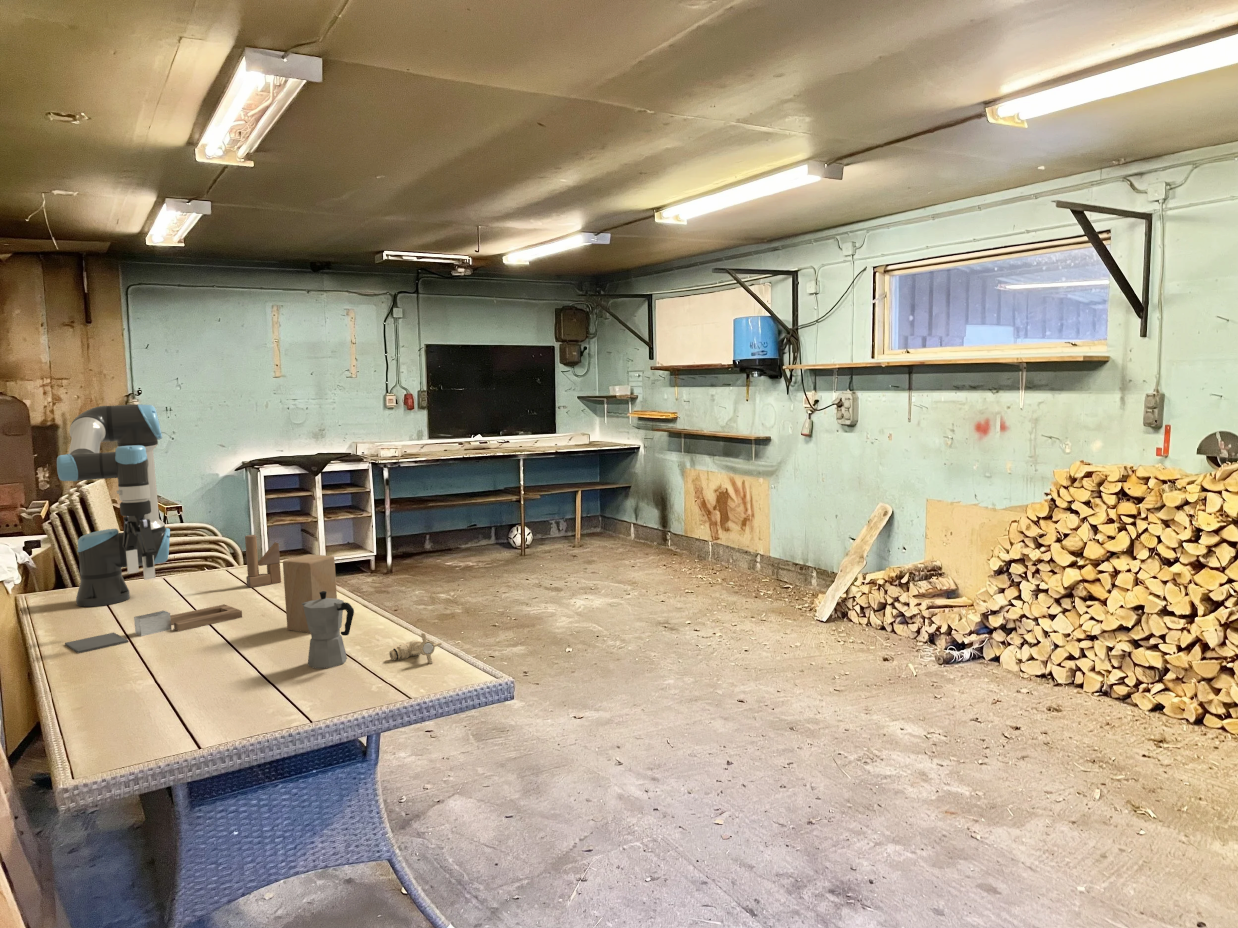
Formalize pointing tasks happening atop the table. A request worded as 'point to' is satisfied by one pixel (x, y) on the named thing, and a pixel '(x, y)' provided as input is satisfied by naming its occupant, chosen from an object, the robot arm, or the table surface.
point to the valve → (414, 649)
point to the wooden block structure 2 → (269, 559)
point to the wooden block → (306, 585)
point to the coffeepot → (327, 631)
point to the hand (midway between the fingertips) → (141, 575)
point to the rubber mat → (96, 642)
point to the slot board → (204, 617)
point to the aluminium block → (152, 623)
